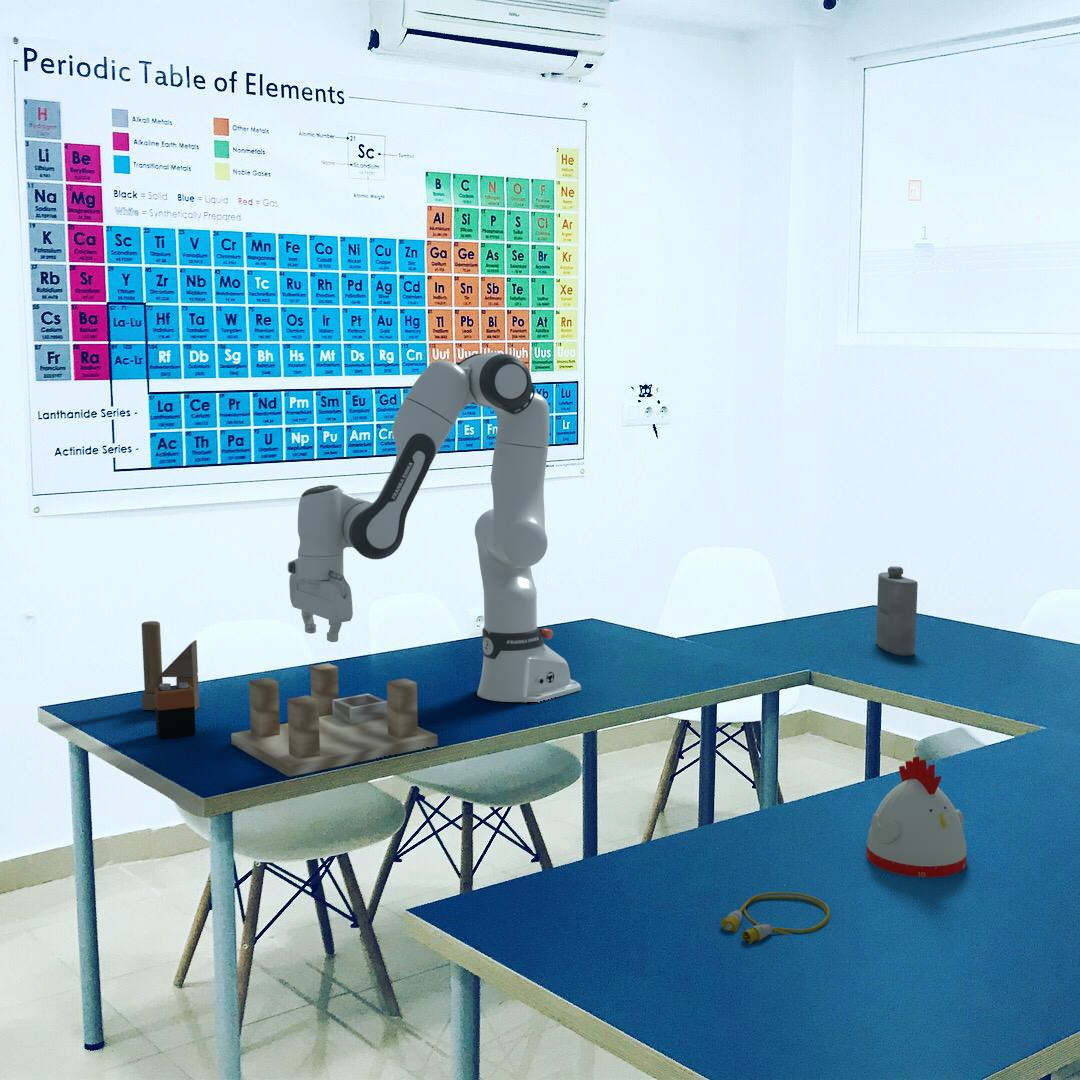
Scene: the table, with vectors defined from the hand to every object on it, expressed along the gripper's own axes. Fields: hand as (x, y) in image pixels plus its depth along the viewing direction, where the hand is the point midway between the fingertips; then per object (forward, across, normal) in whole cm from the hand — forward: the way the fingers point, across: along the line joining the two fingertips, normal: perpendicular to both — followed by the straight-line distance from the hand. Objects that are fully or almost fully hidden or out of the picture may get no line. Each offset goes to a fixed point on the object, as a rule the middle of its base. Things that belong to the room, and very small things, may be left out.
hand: (321, 637), depth 268 cm
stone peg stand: (+16, -19, +7) cm, 26 cm away
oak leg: (+16, 0, -1) cm, 16 cm away
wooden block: (+17, +23, +22) cm, 36 cm away
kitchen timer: (+15, -119, -34) cm, 125 cm away
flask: (+14, -30, -138) cm, 142 cm away
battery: (+17, +5, +28) cm, 33 cm away
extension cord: (+16, -121, -2) cm, 122 cm away
